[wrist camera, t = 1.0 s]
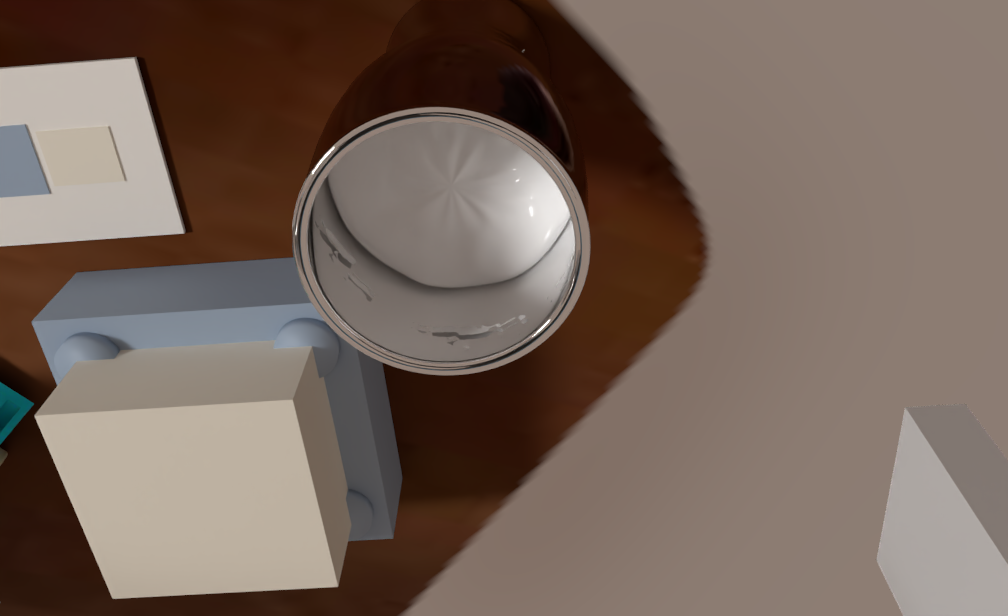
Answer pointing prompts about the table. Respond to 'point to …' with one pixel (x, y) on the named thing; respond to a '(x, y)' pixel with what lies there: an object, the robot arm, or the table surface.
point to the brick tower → (214, 429)
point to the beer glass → (447, 196)
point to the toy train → (10, 413)
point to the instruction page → (81, 155)
